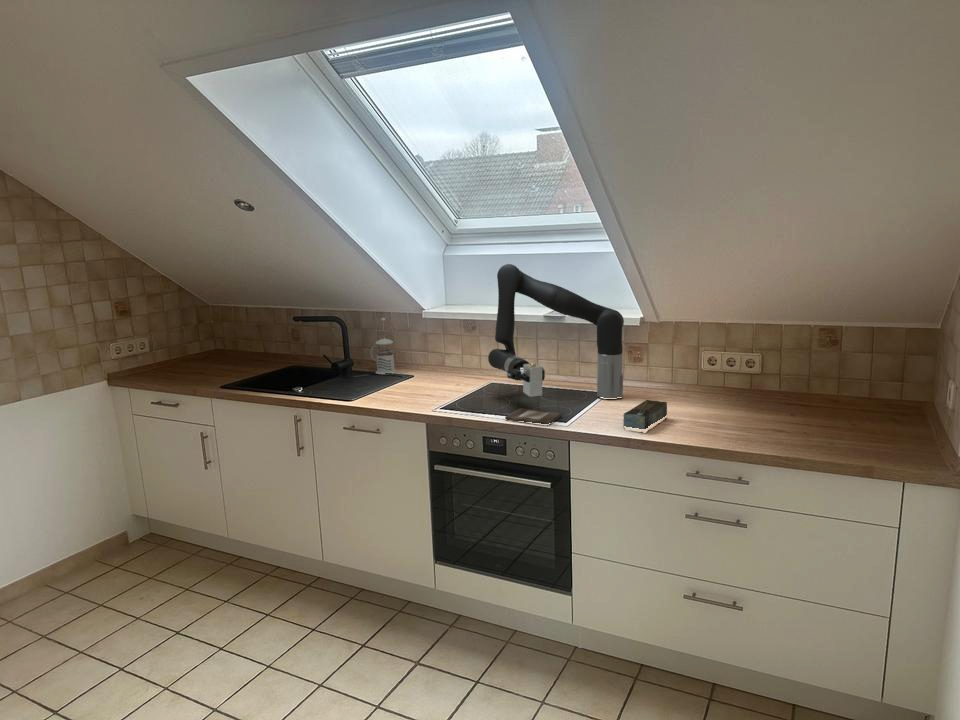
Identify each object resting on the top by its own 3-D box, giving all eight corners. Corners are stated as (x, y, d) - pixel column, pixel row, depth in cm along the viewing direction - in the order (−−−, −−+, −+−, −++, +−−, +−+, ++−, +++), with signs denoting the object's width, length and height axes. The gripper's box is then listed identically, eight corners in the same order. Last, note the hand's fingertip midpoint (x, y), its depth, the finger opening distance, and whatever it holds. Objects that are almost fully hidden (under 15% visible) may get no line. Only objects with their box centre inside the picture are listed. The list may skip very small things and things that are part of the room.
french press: (392, 374, 309) (389, 319, 304) (368, 373, 311) (365, 319, 306) (399, 369, 318) (396, 316, 313) (375, 369, 321) (372, 316, 315)
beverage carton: (621, 430, 223) (622, 411, 222) (645, 416, 238) (646, 397, 237) (645, 434, 219) (645, 414, 217) (667, 419, 234) (668, 401, 232)
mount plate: (505, 420, 237) (505, 416, 237) (520, 411, 247) (520, 407, 247) (548, 426, 229) (548, 422, 229) (561, 416, 239) (561, 412, 239)
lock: (535, 391, 240) (535, 361, 238) (542, 395, 234) (542, 365, 232) (523, 392, 239) (523, 362, 236) (529, 396, 233) (529, 366, 231)
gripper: (498, 359, 245) (516, 369, 230) (535, 356, 250) (555, 366, 234) (499, 379, 247) (516, 391, 231) (535, 376, 251) (555, 387, 235)
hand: (535, 378), depth 233 cm, fingers closed on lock, 4 cm apart
